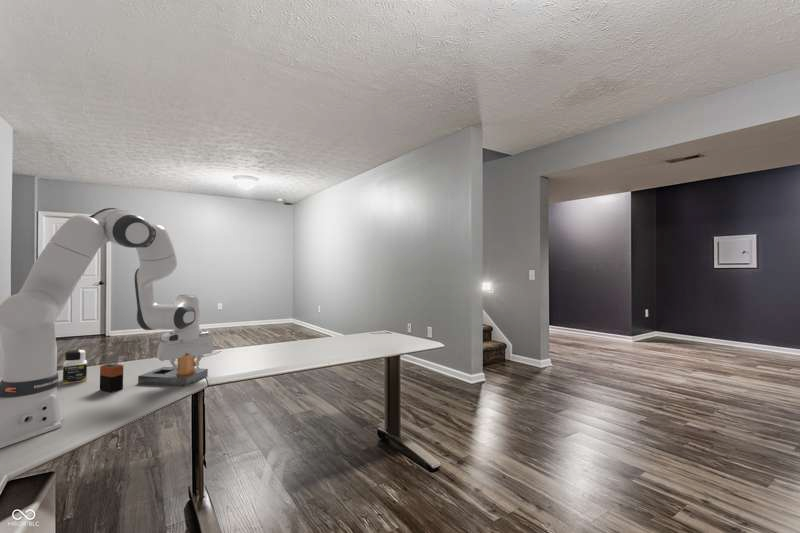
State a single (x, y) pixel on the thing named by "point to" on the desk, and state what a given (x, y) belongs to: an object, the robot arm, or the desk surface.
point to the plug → (186, 365)
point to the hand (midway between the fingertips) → (185, 367)
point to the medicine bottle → (74, 367)
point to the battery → (111, 377)
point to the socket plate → (171, 377)
